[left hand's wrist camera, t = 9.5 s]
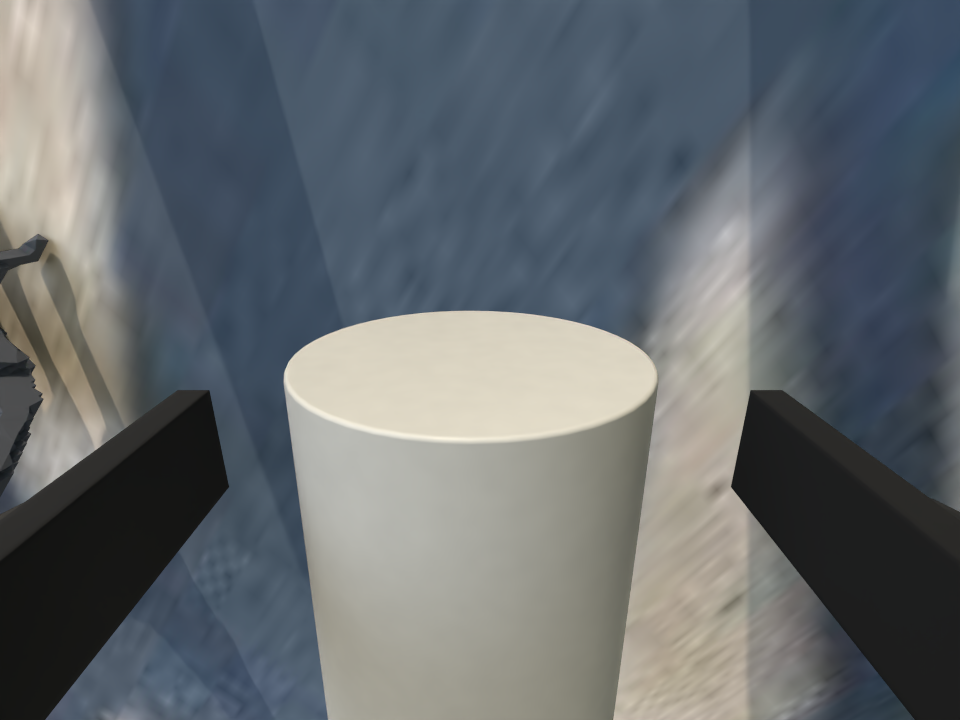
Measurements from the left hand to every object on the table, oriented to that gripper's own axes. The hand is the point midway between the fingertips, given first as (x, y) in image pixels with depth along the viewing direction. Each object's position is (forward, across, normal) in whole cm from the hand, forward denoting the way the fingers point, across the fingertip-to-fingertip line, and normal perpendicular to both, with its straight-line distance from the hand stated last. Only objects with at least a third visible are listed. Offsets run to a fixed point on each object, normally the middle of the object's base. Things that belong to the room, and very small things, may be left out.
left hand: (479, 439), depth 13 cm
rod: (+3, 0, -10) cm, 11 cm away
